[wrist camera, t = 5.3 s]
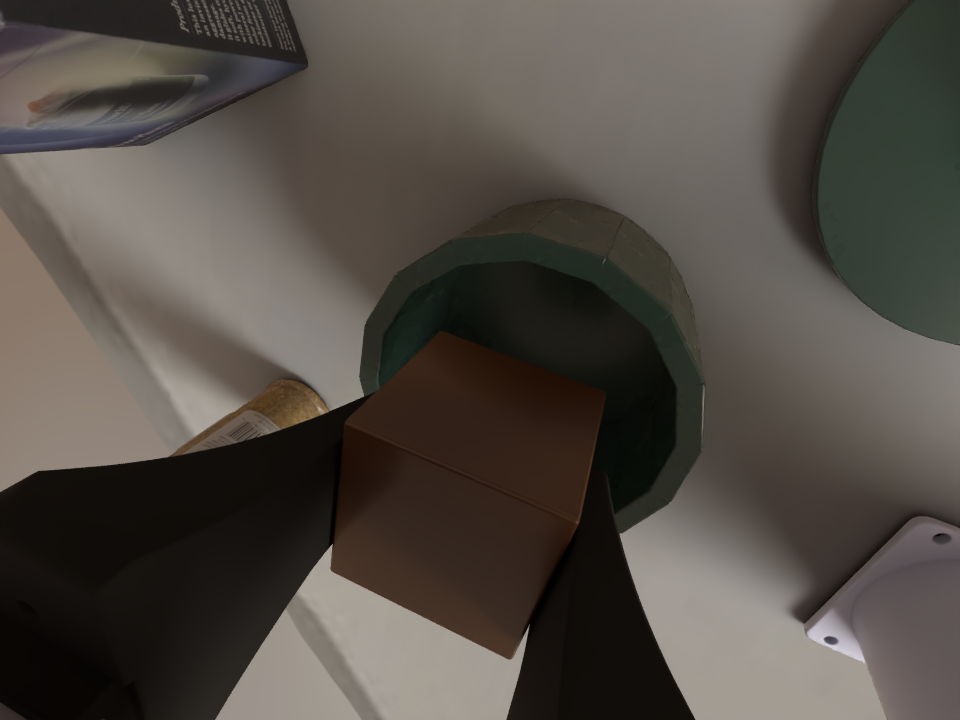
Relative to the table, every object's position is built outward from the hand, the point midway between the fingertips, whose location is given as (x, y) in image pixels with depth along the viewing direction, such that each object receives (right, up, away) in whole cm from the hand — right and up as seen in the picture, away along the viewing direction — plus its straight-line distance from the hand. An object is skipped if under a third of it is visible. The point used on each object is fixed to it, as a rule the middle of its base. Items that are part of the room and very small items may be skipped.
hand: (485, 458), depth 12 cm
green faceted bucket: (+3, +4, +8) cm, 9 cm away
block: (0, +1, +1) cm, 1 cm away
